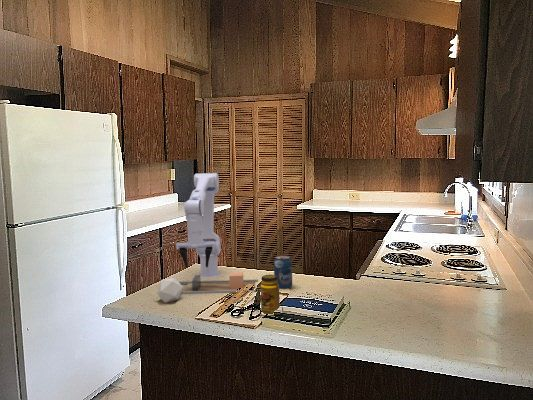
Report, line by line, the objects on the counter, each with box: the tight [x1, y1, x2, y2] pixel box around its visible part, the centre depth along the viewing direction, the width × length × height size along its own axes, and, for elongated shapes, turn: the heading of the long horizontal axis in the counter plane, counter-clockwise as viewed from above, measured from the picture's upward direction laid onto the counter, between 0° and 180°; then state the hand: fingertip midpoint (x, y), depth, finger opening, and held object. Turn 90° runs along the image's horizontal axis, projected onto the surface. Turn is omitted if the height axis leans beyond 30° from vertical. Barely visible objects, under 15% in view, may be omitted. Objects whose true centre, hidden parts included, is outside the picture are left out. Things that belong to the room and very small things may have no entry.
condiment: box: [260, 274, 281, 314], centre depth 145 cm, size 7×8×12 cm
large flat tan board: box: [190, 274, 256, 291], centre depth 172 cm, size 12×24×4 cm, turn 90°
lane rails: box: [177, 278, 259, 296], centre depth 172 cm, size 15×36×1 cm, turn 90°
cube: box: [228, 271, 244, 289], centre depth 172 cm, size 5×5×5 cm
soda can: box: [273, 255, 293, 290], centre depth 171 cm, size 7×7×12 cm
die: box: [156, 277, 184, 304], centre depth 159 cm, size 8×9×10 cm
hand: (196, 267), depth 169 cm, fingers open, 7 cm apart
